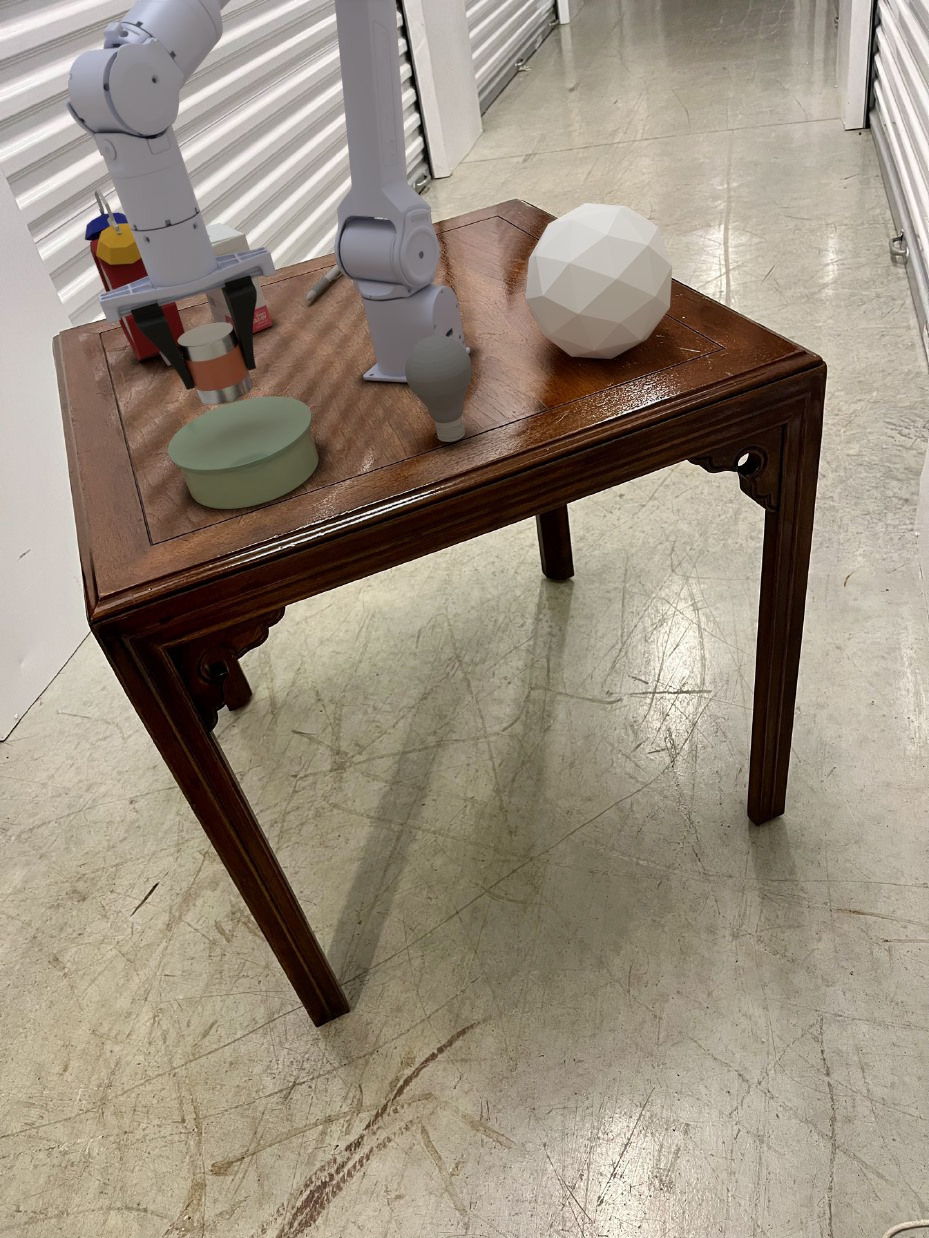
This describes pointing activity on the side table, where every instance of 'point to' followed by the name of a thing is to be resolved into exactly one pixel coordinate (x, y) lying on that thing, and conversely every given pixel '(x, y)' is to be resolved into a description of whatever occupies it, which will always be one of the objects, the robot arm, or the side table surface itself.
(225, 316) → the ink box
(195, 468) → the pale green flat cylinder
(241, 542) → the side table surface
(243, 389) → the can
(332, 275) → the pen
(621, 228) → the geometric shape
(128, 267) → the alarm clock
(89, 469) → the side table surface
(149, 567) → the side table surface
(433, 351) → the light bulb
